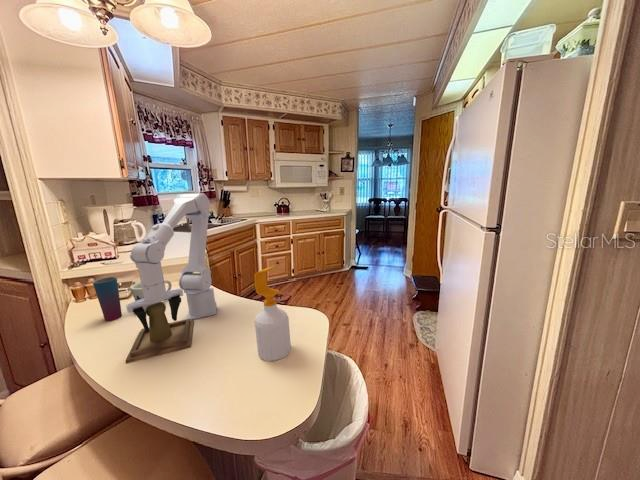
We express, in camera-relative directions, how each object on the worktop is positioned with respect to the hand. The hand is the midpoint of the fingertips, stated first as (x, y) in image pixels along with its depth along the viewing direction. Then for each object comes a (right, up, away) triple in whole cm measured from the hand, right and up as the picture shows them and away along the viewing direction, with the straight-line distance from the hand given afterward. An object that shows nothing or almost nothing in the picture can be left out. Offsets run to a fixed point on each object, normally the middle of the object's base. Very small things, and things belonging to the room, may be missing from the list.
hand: (161, 324), depth 81 cm
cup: (-28, -3, +17) cm, 33 cm away
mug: (-18, -1, +27) cm, 32 cm away
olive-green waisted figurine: (-1, -4, +2) cm, 5 cm away
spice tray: (0, -5, +1) cm, 5 cm away
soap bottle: (+36, -5, -7) cm, 37 cm away
